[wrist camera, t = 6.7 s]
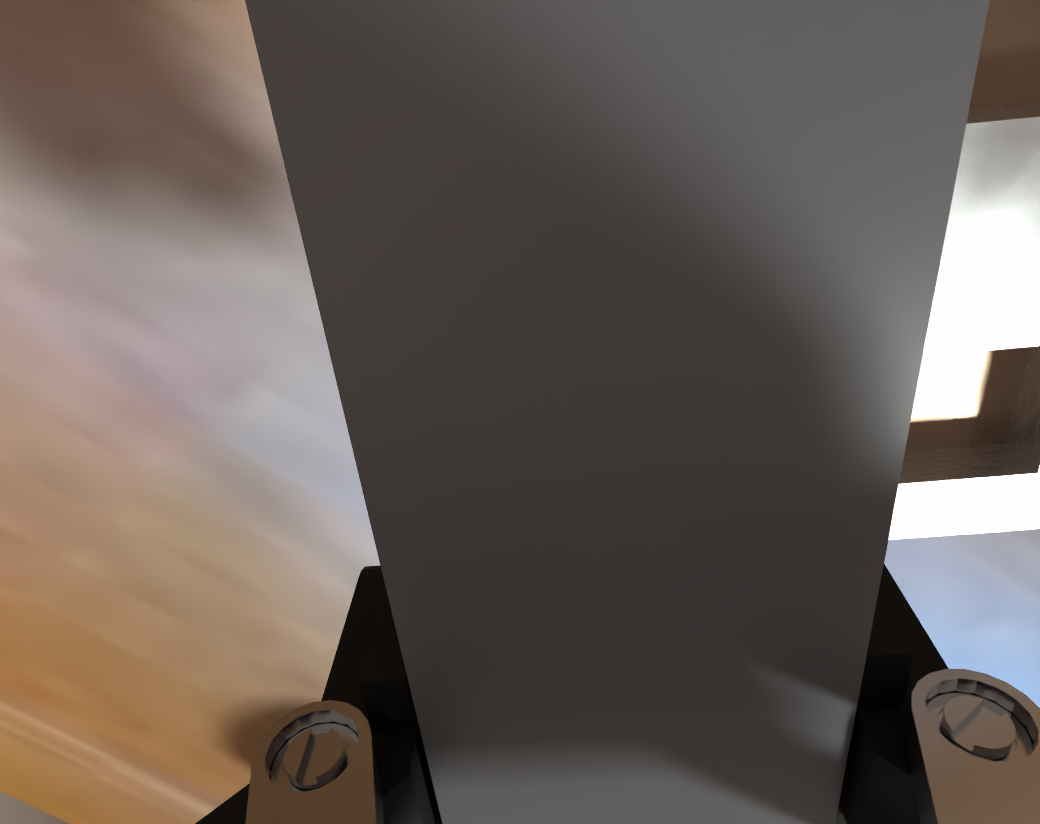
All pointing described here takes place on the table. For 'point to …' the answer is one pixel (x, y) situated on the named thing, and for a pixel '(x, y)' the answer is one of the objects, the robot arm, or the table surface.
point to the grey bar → (626, 369)
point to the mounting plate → (985, 311)
